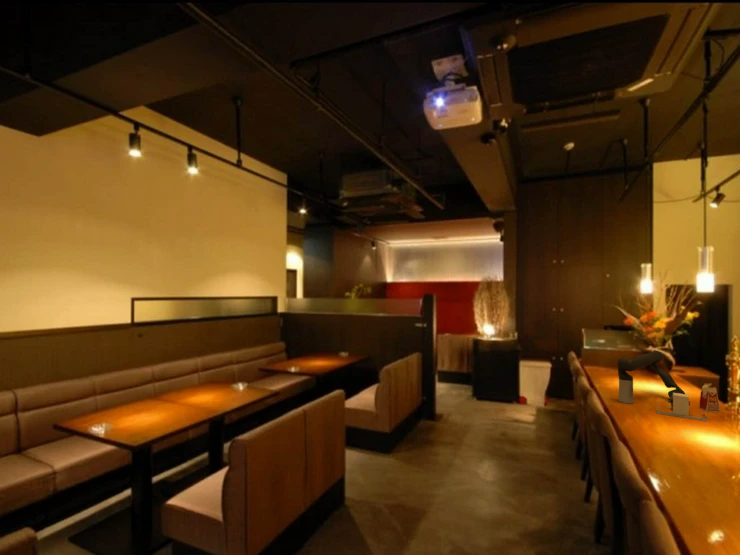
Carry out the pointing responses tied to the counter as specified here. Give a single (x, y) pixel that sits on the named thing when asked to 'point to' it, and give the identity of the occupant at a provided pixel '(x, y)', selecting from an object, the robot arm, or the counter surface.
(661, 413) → the metal staple
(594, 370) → the counter surface
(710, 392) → the milk carton
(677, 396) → the carton
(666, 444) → the counter surface
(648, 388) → the counter surface
